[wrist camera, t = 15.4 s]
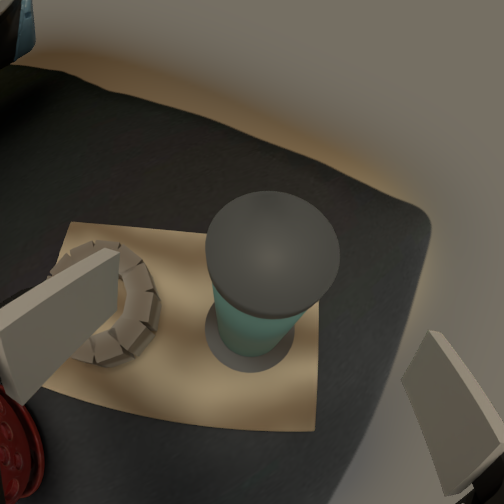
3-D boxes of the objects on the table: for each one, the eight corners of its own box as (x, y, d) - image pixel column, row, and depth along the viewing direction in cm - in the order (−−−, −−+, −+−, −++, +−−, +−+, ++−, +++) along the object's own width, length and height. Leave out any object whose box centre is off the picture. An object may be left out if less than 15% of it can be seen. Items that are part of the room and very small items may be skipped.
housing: (74, 226, 27) (59, 204, 23) (314, 250, 28) (327, 228, 24) (35, 382, 20) (10, 377, 16) (311, 429, 21) (327, 435, 17)
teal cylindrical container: (223, 288, 24) (220, 182, 13) (287, 299, 24) (340, 203, 13) (211, 351, 22) (190, 298, 10) (279, 362, 22) (337, 321, 10)
